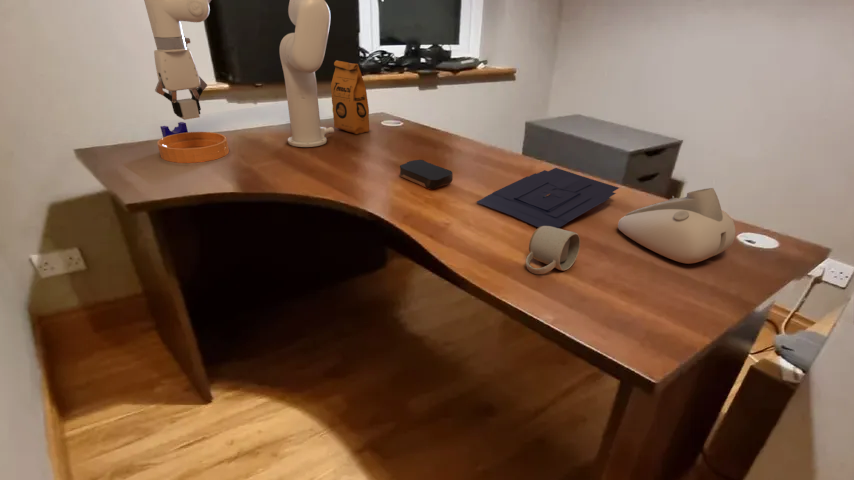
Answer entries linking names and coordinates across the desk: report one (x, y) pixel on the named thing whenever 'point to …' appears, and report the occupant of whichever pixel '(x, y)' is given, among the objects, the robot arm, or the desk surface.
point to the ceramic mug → (553, 249)
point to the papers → (549, 197)
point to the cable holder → (180, 129)
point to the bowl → (193, 147)
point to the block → (188, 108)
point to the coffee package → (349, 98)
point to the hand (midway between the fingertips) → (188, 114)
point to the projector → (682, 227)
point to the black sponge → (426, 174)
